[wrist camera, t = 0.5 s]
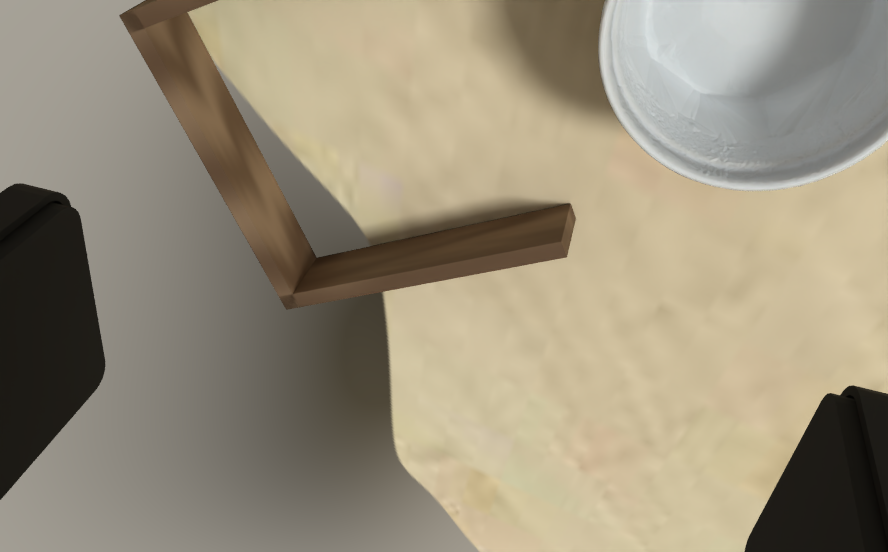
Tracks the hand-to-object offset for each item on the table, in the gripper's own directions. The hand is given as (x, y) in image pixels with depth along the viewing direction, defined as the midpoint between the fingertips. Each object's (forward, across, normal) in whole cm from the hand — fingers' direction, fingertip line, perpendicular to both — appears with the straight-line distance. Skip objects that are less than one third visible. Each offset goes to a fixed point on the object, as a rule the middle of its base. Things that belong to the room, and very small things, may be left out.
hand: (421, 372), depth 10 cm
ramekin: (+34, -7, +4) cm, 35 cm away
